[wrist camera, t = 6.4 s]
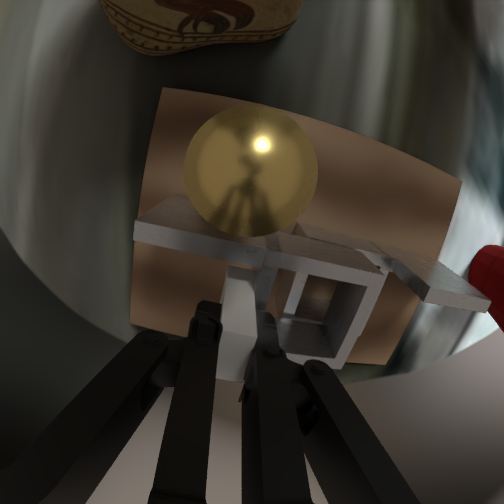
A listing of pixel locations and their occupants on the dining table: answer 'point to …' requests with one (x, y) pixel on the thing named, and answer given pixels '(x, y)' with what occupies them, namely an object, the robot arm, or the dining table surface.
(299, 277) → the fixed leaf
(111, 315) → the dining table surface
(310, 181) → the pin
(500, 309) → the plastic cup
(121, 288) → the dining table surface
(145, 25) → the ceramic vessel
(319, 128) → the board
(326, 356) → the flanged square frame
